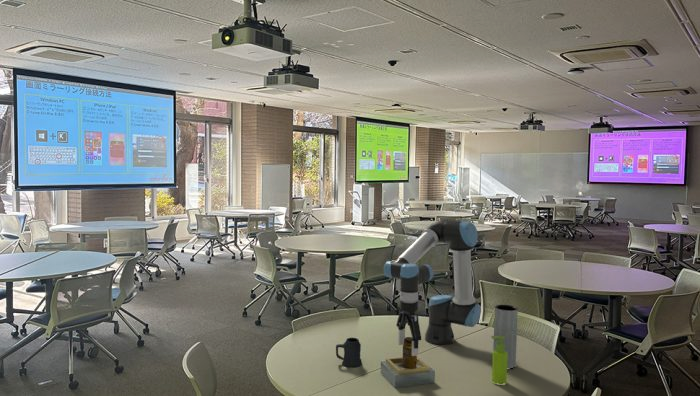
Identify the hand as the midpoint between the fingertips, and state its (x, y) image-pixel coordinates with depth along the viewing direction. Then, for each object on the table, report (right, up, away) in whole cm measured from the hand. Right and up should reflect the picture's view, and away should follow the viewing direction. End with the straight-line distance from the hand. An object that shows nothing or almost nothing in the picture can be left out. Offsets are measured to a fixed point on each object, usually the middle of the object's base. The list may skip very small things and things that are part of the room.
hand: (408, 349), depth 225 cm
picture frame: (-1, -12, +2) cm, 12 cm away
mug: (-25, -11, +15) cm, 32 cm away
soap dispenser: (+38, -13, -3) cm, 40 cm away
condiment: (0, -7, 0) cm, 7 cm away
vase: (+46, -12, +17) cm, 50 cm away
